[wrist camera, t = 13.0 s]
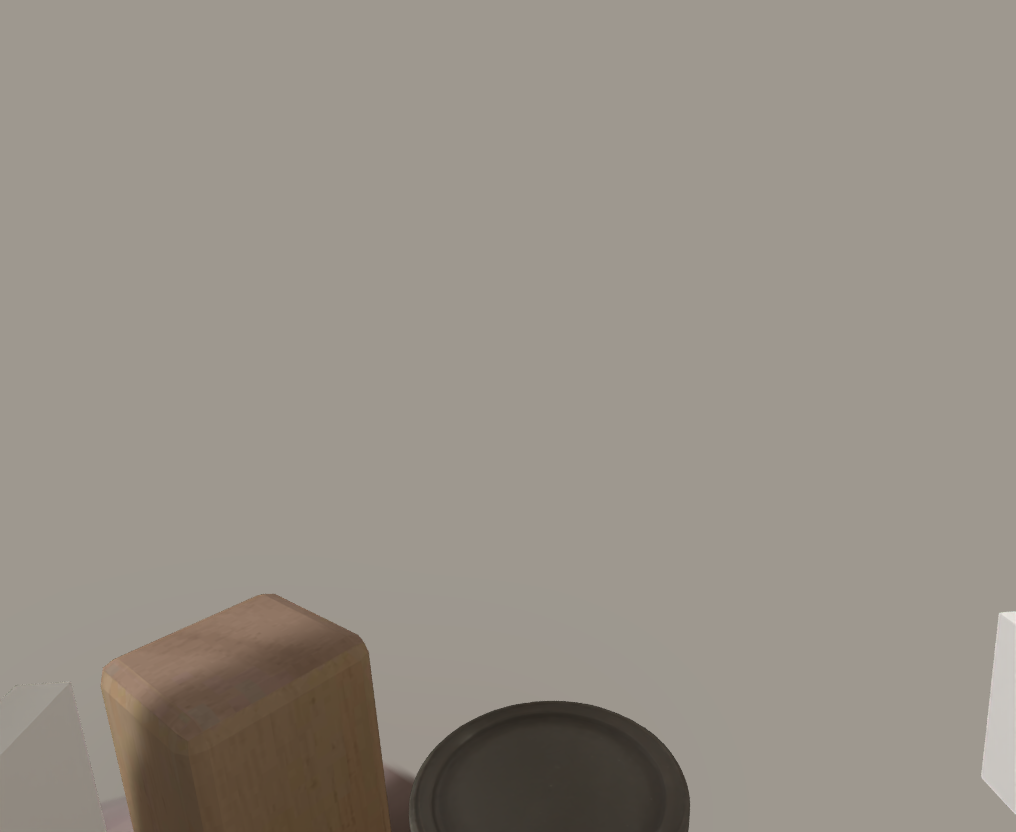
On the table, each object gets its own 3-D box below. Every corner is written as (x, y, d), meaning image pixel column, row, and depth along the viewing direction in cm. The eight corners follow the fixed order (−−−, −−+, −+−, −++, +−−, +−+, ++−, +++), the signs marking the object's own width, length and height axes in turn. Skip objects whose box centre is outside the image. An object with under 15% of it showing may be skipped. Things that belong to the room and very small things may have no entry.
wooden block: (312, 857, 47) (269, 582, 43) (413, 945, 41) (374, 633, 36) (161, 976, 40) (88, 661, 35) (254, 1106, 34) (180, 742, 29)
